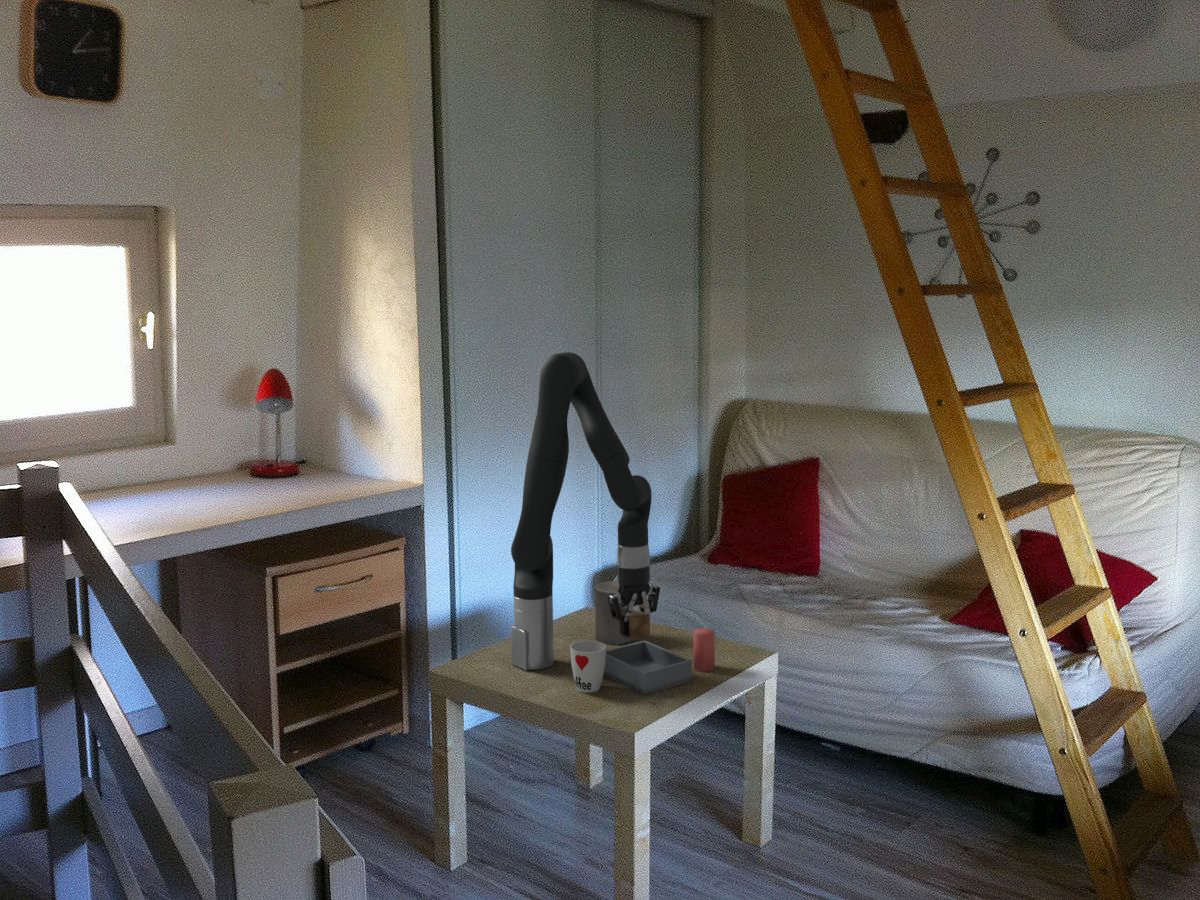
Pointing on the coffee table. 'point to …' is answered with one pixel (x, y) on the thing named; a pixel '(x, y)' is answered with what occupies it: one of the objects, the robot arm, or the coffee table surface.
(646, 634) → the walnut cube
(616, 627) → the pillar candle
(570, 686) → the coffee table surface
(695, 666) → the red capsule
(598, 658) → the cup
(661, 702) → the coffee table surface
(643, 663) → the tote
